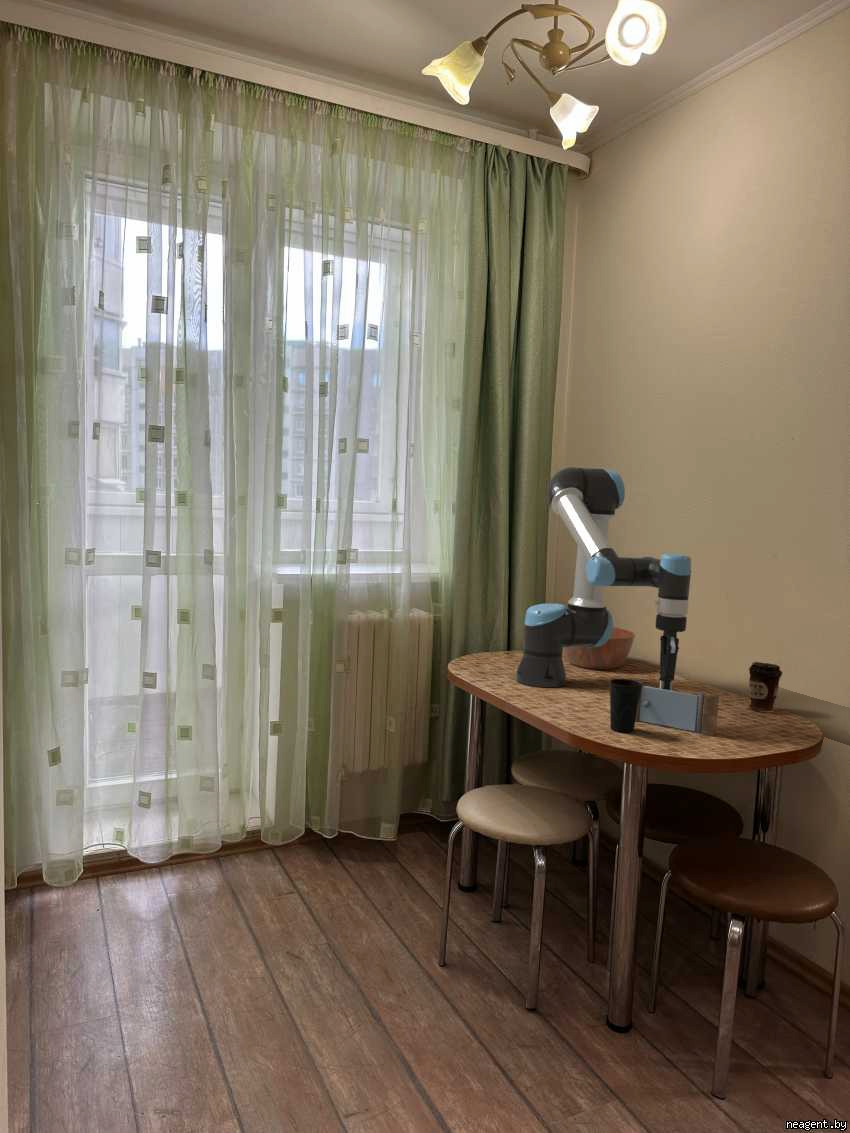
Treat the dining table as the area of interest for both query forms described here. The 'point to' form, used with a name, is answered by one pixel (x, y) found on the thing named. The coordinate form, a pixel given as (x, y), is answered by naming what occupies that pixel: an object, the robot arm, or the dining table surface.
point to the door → (672, 708)
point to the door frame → (708, 713)
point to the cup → (624, 704)
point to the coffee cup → (763, 686)
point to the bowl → (603, 652)
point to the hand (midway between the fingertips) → (664, 704)
